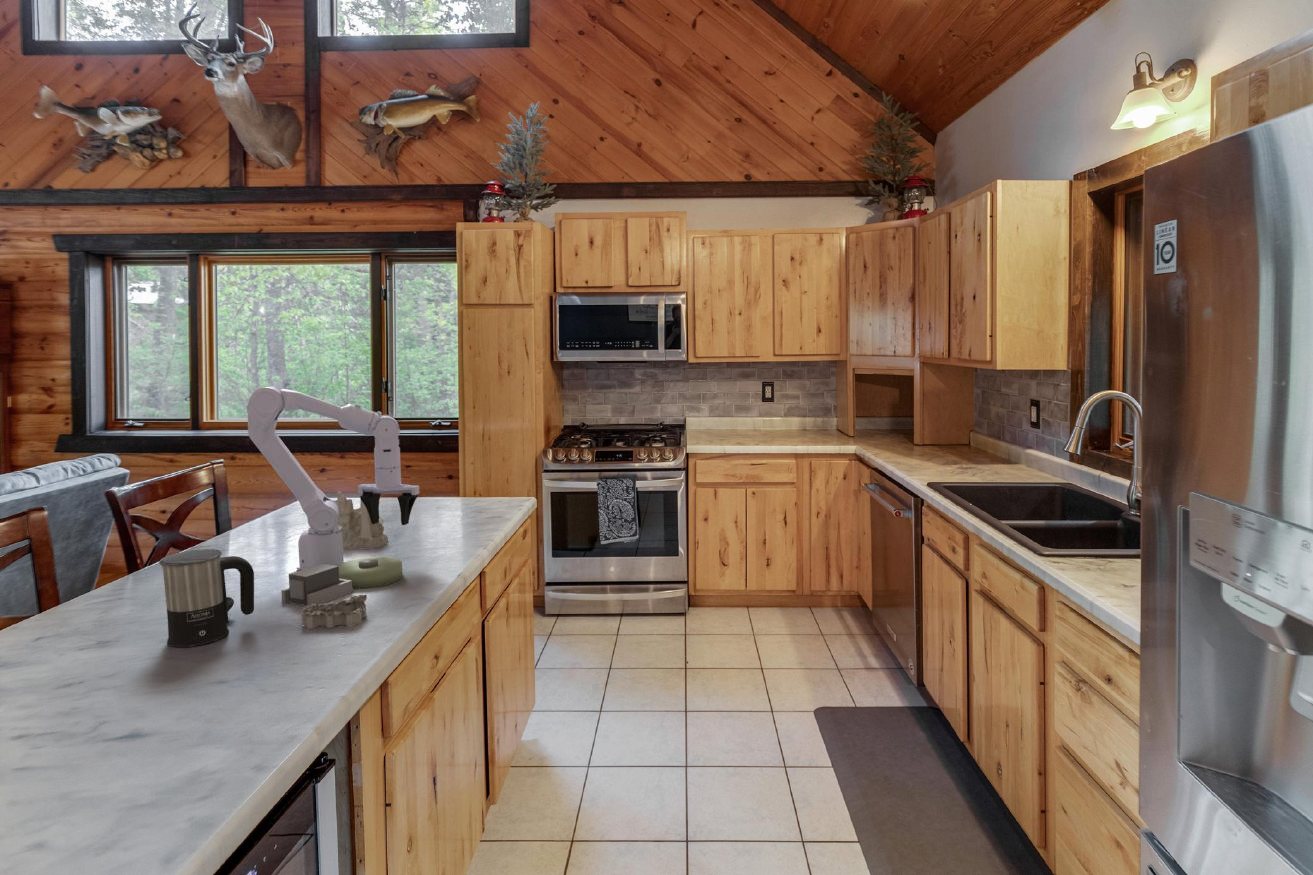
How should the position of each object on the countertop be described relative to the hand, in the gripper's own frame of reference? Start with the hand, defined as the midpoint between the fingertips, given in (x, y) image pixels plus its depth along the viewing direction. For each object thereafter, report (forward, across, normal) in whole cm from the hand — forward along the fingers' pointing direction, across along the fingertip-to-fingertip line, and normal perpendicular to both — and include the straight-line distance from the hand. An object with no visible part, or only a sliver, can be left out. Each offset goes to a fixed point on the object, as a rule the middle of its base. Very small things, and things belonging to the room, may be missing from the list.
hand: (390, 523), depth 173 cm
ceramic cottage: (+10, -19, +17) cm, 27 cm away
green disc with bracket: (+9, 0, -19) cm, 21 cm away
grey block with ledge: (+10, -2, -27) cm, 28 cm away
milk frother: (+10, -11, -46) cm, 48 cm away
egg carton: (+10, +10, -38) cm, 40 cm away
